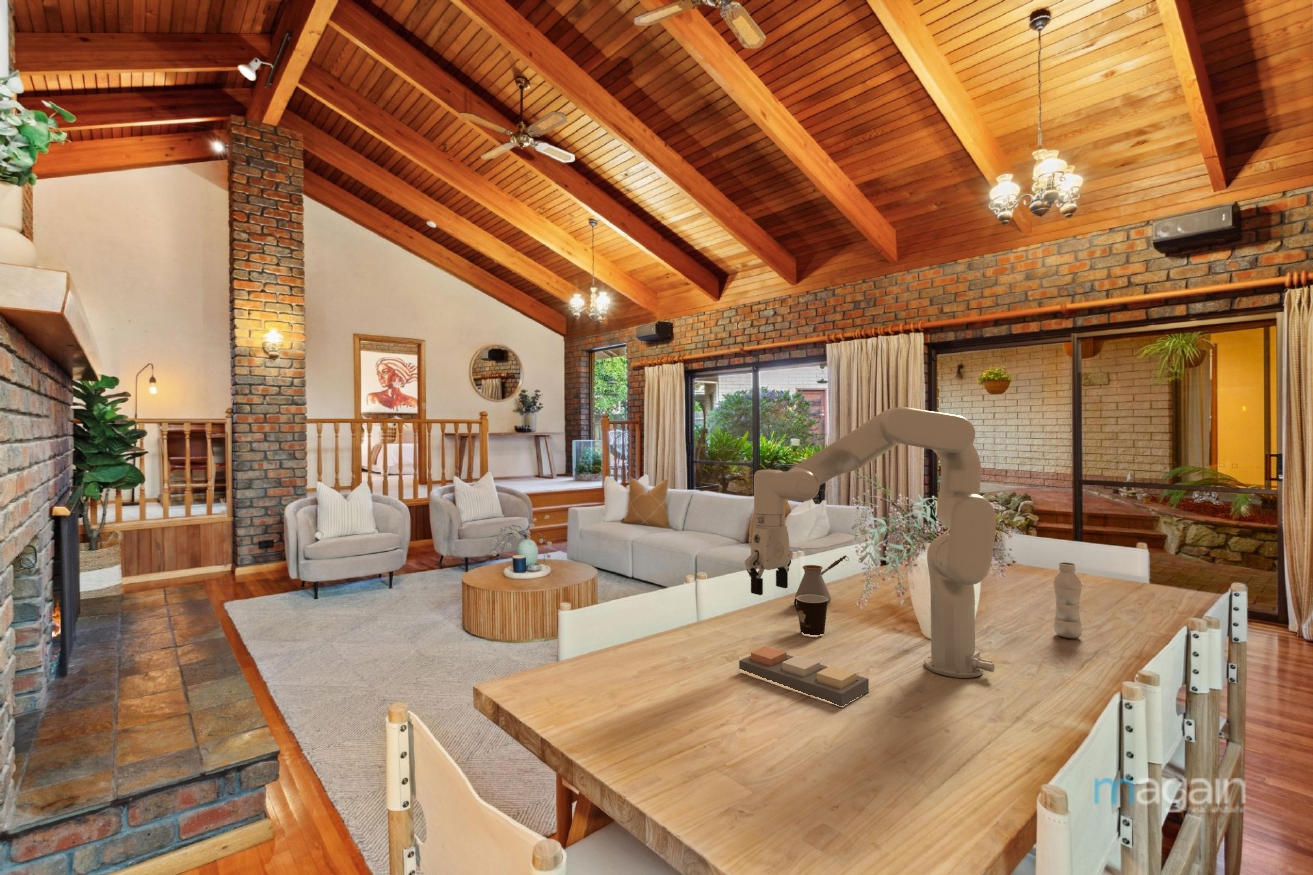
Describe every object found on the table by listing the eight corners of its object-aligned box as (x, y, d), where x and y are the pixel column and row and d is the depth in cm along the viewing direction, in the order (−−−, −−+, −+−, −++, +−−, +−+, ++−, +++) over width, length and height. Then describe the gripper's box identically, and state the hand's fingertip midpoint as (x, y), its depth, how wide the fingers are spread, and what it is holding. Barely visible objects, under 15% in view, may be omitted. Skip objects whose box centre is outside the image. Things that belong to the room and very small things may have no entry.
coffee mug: (831, 639, 170) (831, 602, 170) (800, 639, 171) (799, 602, 171) (821, 625, 182) (820, 591, 182) (791, 626, 182) (791, 592, 182)
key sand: (856, 682, 135) (856, 672, 135) (841, 690, 131) (841, 680, 131) (831, 674, 139) (831, 665, 139) (816, 682, 135) (816, 672, 135)
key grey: (819, 670, 141) (819, 662, 141) (804, 678, 137) (804, 669, 137) (797, 664, 146) (797, 655, 146) (782, 671, 141) (782, 662, 141)
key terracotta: (786, 660, 148) (786, 652, 148) (771, 667, 144) (771, 658, 144) (766, 654, 152) (766, 646, 152) (750, 661, 148) (750, 652, 148)
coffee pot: (812, 613, 195) (811, 565, 195) (787, 604, 205) (787, 559, 205) (861, 603, 205) (860, 558, 205) (835, 595, 215) (834, 552, 215)
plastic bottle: (1073, 633, 172) (1072, 561, 172) (1087, 641, 165) (1087, 566, 165) (1048, 633, 172) (1047, 561, 172) (1062, 641, 166) (1061, 566, 166)
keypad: (868, 692, 135) (868, 678, 135) (842, 708, 128) (842, 693, 128) (767, 660, 155) (767, 648, 155) (739, 673, 147) (739, 660, 147)
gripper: (759, 525, 143) (759, 600, 143) (803, 518, 155) (803, 587, 155) (734, 522, 149) (734, 593, 149) (778, 515, 160) (778, 582, 160)
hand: (769, 590), depth 152 cm, fingers open, 9 cm apart
